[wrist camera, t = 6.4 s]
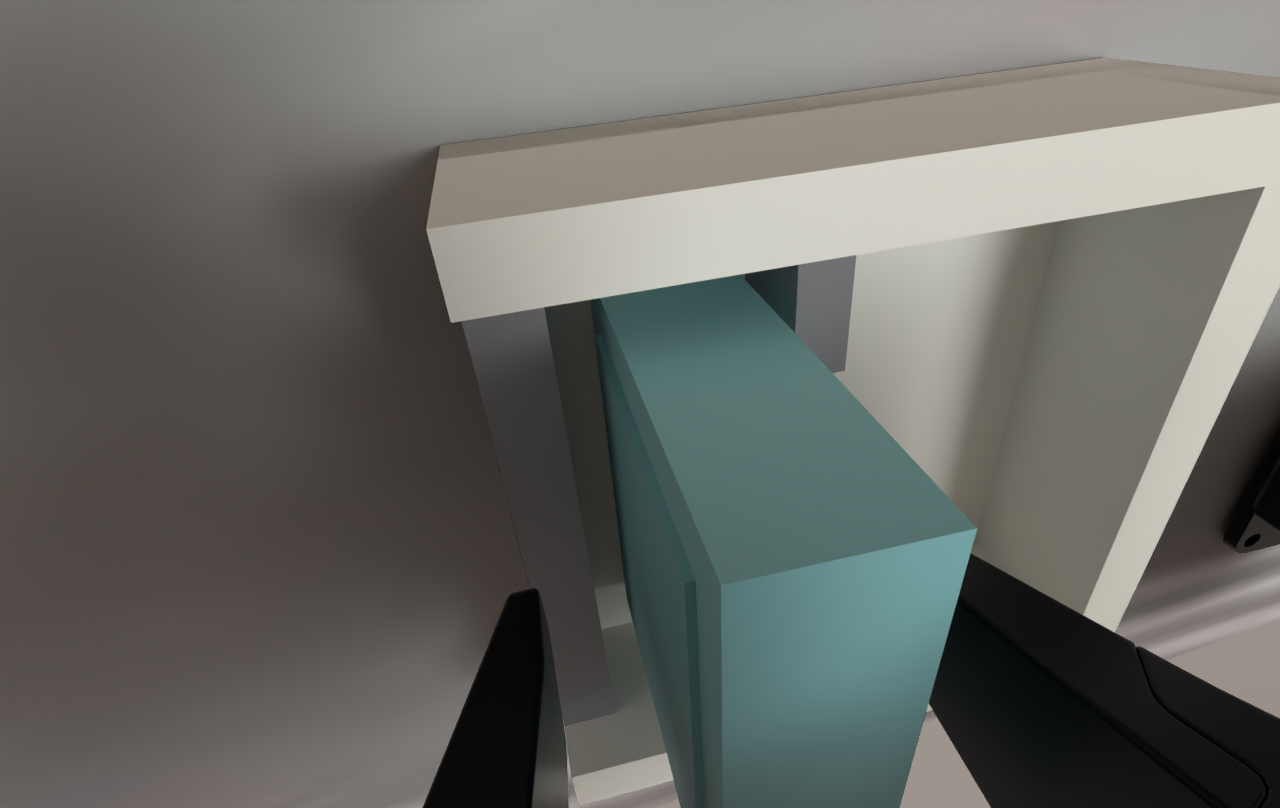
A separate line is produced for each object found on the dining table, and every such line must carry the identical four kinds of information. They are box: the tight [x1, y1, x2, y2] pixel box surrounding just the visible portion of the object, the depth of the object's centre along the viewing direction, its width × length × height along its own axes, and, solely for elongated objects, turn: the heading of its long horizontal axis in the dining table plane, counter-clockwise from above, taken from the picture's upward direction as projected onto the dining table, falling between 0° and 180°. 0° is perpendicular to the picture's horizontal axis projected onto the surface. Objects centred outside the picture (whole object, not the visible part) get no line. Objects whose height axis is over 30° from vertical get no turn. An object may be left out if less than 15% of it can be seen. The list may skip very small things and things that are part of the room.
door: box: [590, 275, 977, 808], centre depth 9 cm, size 2×7×6 cm, turn 4°
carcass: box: [426, 57, 1280, 806], centre depth 12 cm, size 11×11×4 cm
